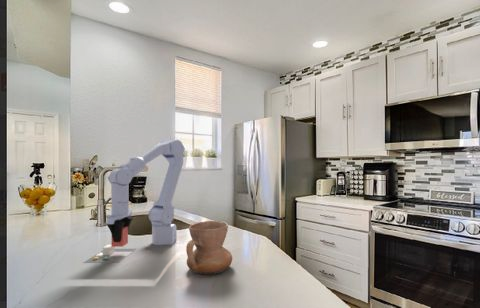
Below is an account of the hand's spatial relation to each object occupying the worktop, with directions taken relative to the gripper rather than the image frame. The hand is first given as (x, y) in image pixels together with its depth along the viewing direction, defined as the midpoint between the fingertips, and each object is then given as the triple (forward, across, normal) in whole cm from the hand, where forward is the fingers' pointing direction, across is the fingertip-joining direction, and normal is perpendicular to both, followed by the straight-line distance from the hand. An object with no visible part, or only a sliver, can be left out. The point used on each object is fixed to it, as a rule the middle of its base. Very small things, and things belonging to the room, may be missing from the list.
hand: (120, 239), depth 97 cm
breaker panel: (+7, +1, -3) cm, 7 cm away
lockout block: (+2, 0, 0) cm, 2 cm away
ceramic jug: (+7, +10, +33) cm, 35 cm away
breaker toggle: (+5, 0, -4) cm, 7 cm away
